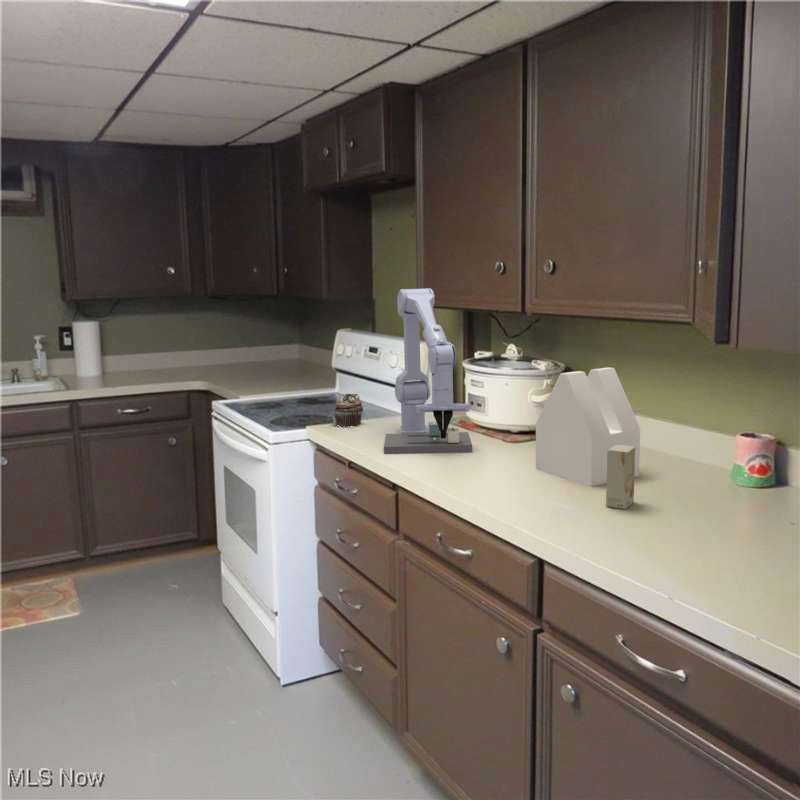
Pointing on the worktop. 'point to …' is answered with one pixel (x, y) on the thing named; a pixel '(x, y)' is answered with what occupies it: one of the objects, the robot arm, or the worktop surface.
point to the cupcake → (348, 410)
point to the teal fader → (434, 429)
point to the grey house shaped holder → (585, 426)
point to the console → (425, 443)
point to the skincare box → (620, 476)
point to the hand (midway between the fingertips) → (443, 437)
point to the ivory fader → (453, 435)
